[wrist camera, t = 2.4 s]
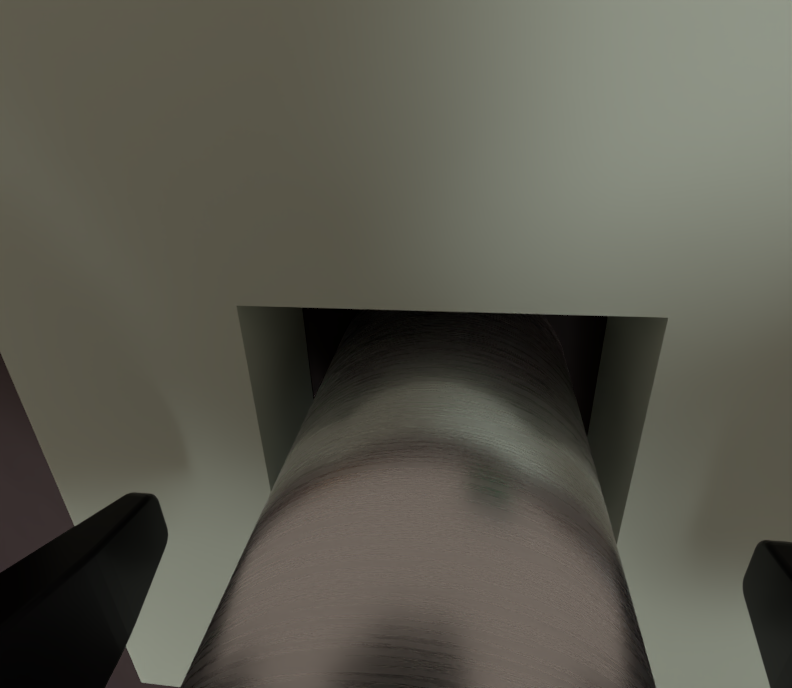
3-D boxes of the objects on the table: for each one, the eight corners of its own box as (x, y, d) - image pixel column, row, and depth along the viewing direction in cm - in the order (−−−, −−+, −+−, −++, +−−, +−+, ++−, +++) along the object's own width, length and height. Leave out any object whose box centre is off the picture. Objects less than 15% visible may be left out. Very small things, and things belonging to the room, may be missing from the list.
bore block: (1010, -61, 7) (1296, -118, 5) (727, 633, 15) (781, 761, 12) (14, -9, 9) (-164, -28, 7) (194, 581, 17) (141, 682, 14)
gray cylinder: (581, 276, 11) (782, 728, 4) (553, 476, 13) (642, 981, 6) (326, 271, 11) (76, 646, 4) (345, 462, 14) (203, 905, 7)
